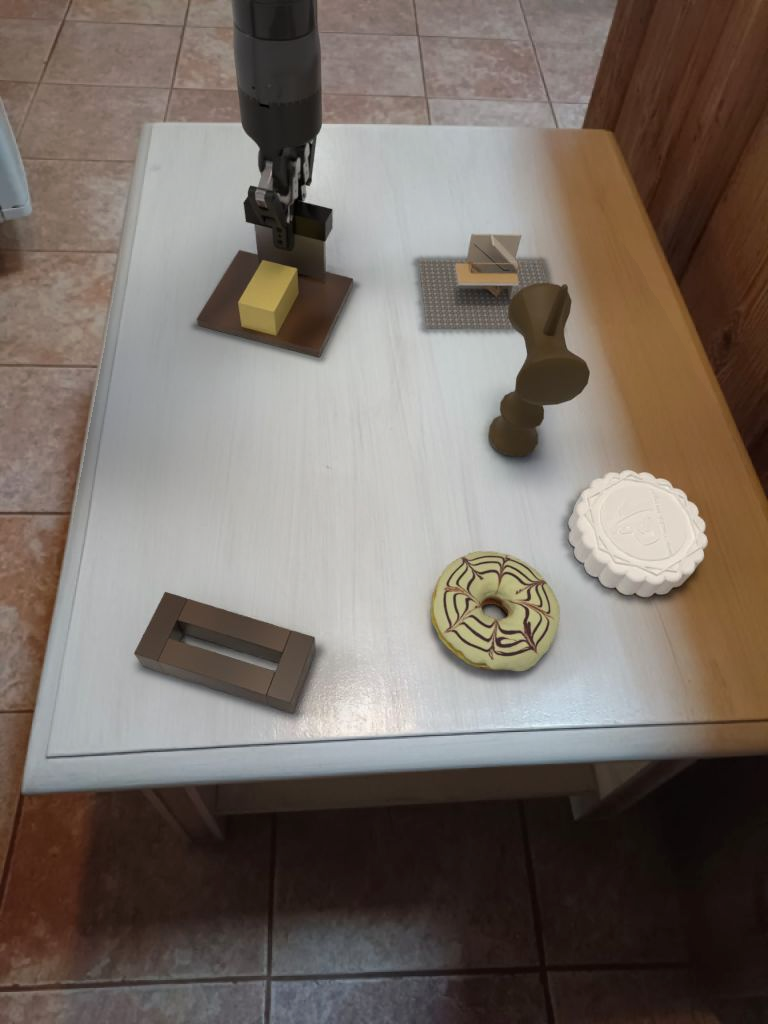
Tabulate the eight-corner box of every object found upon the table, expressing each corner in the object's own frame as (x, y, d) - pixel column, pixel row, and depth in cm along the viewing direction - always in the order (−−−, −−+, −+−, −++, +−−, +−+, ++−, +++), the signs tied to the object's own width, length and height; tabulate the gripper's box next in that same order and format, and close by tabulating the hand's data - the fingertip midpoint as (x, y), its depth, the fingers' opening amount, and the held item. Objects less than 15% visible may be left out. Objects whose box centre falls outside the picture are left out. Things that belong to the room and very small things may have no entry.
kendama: (486, 478, 71) (535, 328, 54) (478, 401, 76) (520, 242, 59) (547, 479, 71) (614, 330, 54) (535, 403, 76) (593, 245, 59)
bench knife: (251, 267, 82) (243, 202, 75) (258, 254, 84) (251, 189, 76) (325, 286, 82) (325, 222, 74) (332, 273, 83) (332, 208, 76)
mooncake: (557, 486, 71) (567, 465, 68) (676, 486, 72) (691, 465, 68) (579, 599, 64) (591, 581, 61) (709, 597, 65) (727, 580, 62)
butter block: (241, 327, 78) (237, 302, 75) (265, 284, 81) (262, 259, 78) (276, 336, 78) (274, 311, 75) (298, 293, 81) (297, 268, 78)
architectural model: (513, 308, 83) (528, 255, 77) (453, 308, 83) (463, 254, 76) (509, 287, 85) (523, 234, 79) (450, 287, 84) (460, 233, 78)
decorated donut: (543, 693, 60) (554, 678, 57) (417, 660, 61) (421, 644, 57) (558, 582, 65) (569, 564, 62) (442, 554, 66) (447, 533, 63)
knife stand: (142, 666, 59) (133, 653, 56) (171, 606, 62) (164, 591, 59) (292, 713, 58) (290, 702, 55) (315, 650, 61) (315, 637, 58)
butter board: (197, 325, 79) (196, 318, 78) (240, 256, 85) (239, 249, 84) (319, 357, 78) (319, 351, 77) (353, 285, 84) (353, 278, 83)
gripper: (268, 30, 68) (279, 194, 83) (207, 107, 61) (232, 272, 76) (343, 47, 67) (341, 209, 82) (291, 126, 60) (299, 289, 75)
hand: (289, 238), depth 79 cm, fingers closed on bench knife, 2 cm apart
